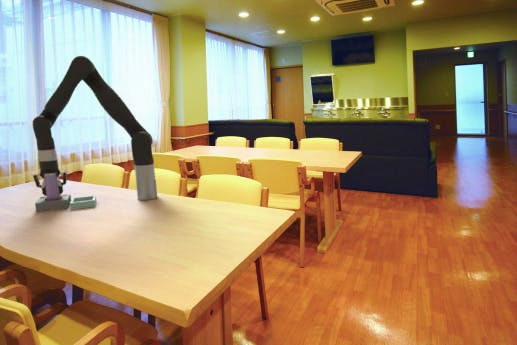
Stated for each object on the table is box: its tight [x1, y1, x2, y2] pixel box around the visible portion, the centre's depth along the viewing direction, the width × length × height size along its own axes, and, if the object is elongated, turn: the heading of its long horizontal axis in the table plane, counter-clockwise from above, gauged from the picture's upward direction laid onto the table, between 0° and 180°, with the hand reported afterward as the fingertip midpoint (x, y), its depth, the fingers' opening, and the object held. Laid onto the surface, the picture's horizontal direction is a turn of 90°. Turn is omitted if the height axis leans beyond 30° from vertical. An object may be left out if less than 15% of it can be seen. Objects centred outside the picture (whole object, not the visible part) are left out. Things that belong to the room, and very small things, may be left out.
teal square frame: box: [69, 194, 97, 210], centre depth 174 cm, size 10×10×3 cm
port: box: [34, 193, 72, 213], centre depth 173 cm, size 13×13×4 cm
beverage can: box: [43, 173, 62, 201], centre depth 172 cm, size 6×6×15 cm
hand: (53, 194), depth 172 cm, fingers closed on beverage can, 5 cm apart
